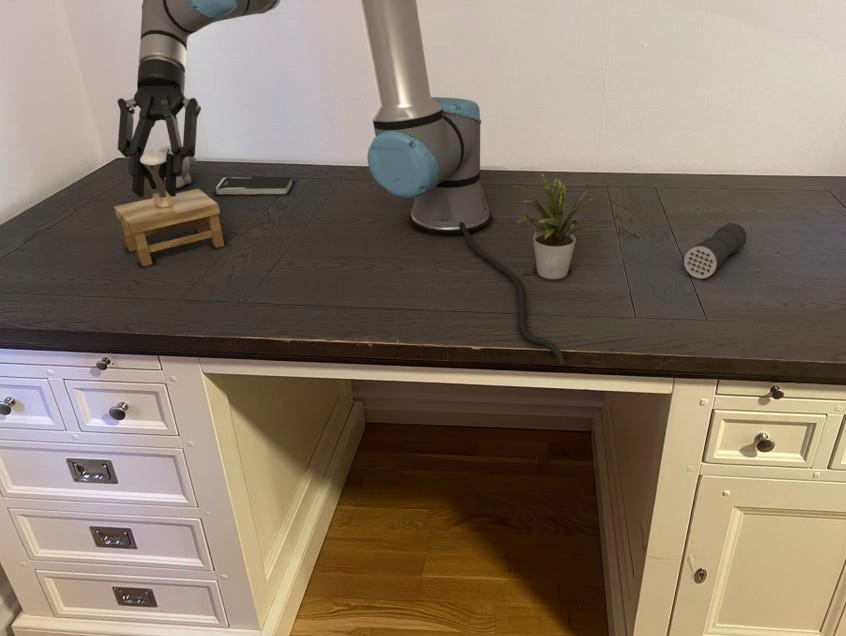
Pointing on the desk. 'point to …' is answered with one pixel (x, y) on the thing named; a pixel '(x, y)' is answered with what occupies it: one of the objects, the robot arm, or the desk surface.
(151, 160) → the milkshake
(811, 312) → the desk surface
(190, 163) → the round bodied animal figurine
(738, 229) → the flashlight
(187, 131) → the robot arm
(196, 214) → the stool
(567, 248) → the house plant
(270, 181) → the smartphone
